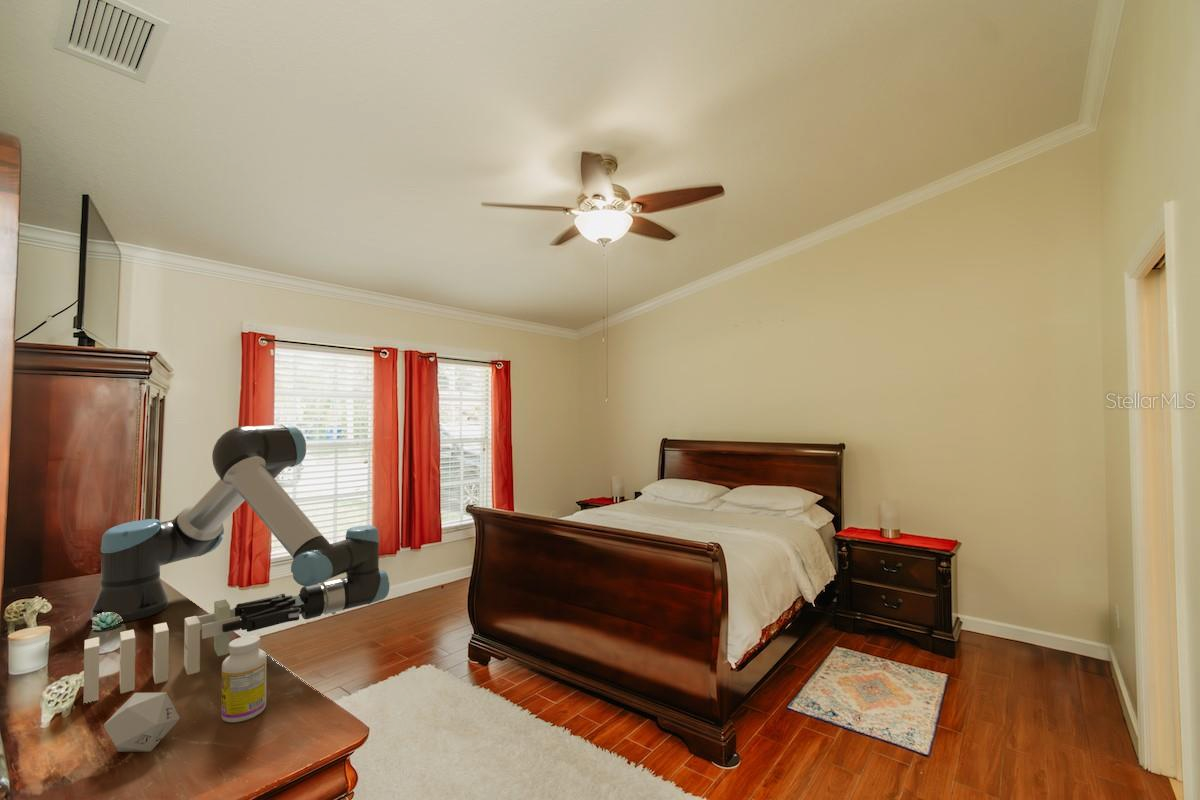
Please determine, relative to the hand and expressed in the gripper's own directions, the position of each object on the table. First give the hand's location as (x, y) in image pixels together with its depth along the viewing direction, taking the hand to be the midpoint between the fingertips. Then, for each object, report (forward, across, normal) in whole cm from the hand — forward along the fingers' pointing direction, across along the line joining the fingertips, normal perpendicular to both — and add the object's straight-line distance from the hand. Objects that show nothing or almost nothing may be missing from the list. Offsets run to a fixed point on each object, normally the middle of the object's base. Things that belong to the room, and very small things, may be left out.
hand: (200, 627), depth 110 cm
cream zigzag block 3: (+6, 0, -8) cm, 10 cm away
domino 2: (+11, 0, -8) cm, 14 cm away
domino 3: (+1, 0, -8) cm, 8 cm away
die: (+10, -26, -8) cm, 29 cm away
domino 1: (+16, 0, -8) cm, 18 cm away
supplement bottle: (-3, -26, -8) cm, 28 cm away
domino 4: (-4, 0, -6) cm, 7 cm away
